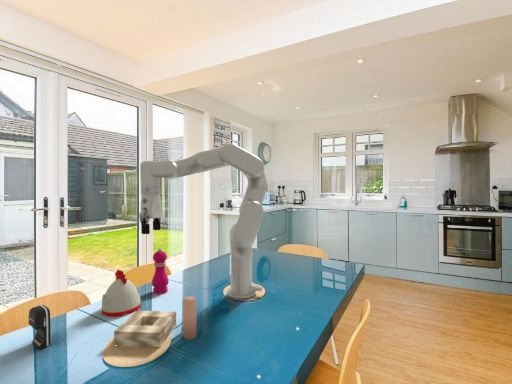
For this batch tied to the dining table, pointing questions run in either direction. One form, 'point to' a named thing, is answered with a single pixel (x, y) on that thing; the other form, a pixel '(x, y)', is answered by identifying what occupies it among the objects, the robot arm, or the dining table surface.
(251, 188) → the robot arm
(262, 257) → the dining table surface
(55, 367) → the dining table surface
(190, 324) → the peg
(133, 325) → the socket block
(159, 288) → the pepper mill
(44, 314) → the black coffee maker
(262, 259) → the dining table surface
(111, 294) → the white dome
